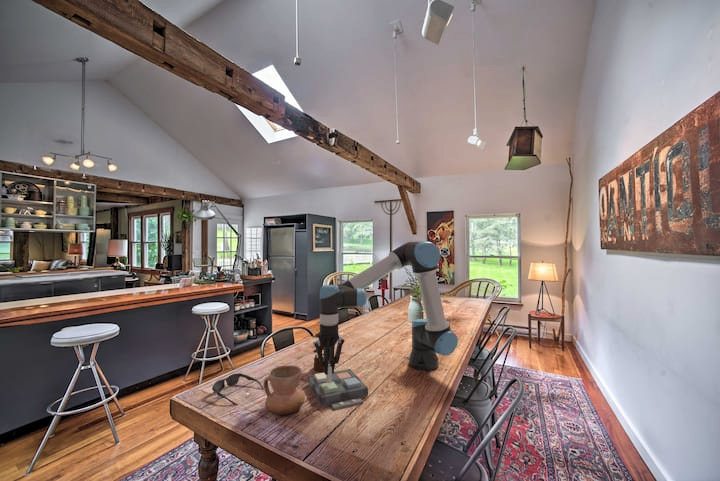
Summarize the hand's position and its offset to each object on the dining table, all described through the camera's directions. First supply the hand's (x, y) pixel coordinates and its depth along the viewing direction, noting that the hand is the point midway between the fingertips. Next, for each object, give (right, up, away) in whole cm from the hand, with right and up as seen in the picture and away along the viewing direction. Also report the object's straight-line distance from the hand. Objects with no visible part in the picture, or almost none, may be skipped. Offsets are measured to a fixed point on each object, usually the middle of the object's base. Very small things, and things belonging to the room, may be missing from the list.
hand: (328, 381), depth 121 cm
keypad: (+3, -7, +6) cm, 10 cm away
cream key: (-4, -4, +9) cm, 11 cm away
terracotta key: (+5, -6, +13) cm, 15 cm away
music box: (-5, -7, +29) cm, 31 cm away
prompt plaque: (+8, -7, -5) cm, 11 cm away
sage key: (0, -4, 0) cm, 4 cm away
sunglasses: (-39, -7, +5) cm, 40 cm away
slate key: (+9, -4, +4) cm, 11 cm away
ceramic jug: (-16, -7, -7) cm, 19 cm away
